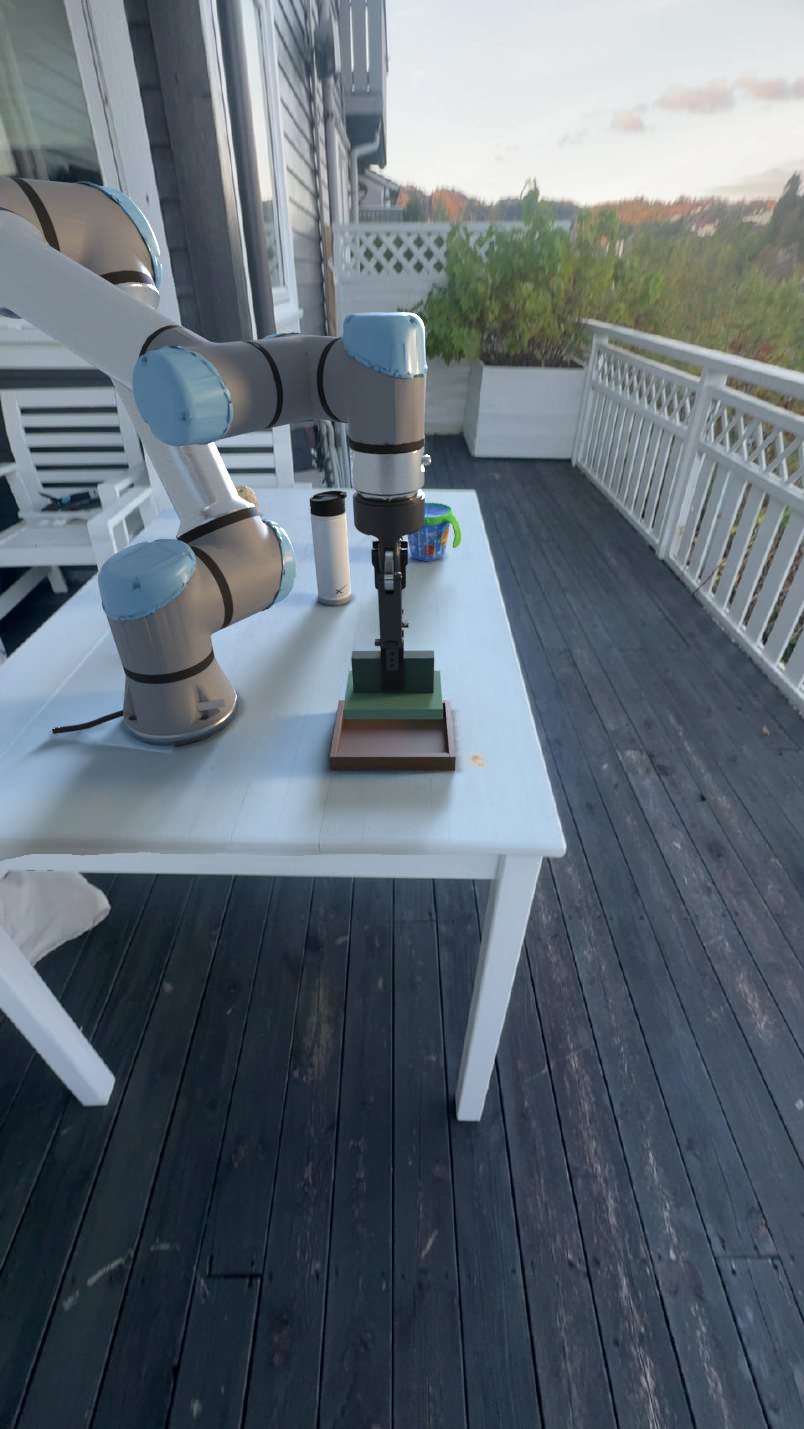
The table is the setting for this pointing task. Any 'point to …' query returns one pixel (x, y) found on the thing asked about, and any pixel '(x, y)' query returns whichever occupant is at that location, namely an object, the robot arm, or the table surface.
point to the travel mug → (331, 547)
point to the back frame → (393, 743)
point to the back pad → (393, 704)
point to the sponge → (247, 495)
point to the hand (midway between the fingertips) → (393, 682)
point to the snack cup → (434, 533)
